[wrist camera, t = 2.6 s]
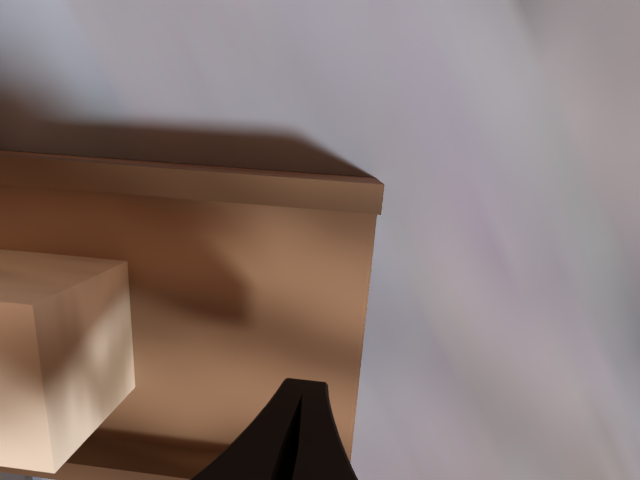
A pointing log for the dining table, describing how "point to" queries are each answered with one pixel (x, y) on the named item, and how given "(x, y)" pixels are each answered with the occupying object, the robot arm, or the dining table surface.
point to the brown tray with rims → (205, 293)
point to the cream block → (60, 353)
